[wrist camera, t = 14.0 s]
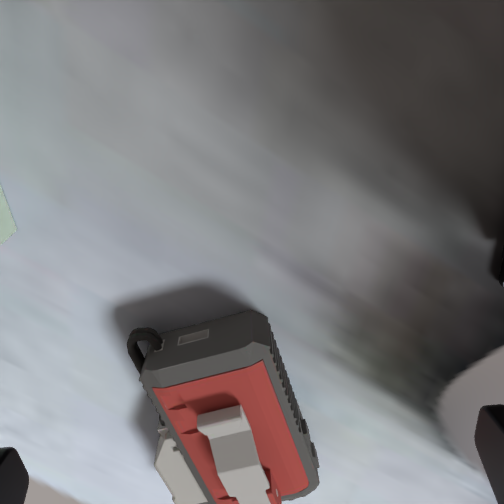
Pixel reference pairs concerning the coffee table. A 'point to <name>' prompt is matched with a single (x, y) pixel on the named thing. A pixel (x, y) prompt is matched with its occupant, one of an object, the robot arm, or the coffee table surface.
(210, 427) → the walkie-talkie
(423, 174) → the coffee table surface
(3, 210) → the stand
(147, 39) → the coffee table surface
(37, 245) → the coffee table surface
